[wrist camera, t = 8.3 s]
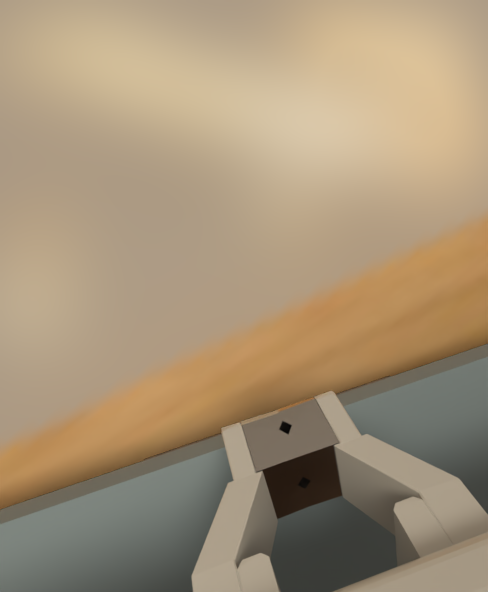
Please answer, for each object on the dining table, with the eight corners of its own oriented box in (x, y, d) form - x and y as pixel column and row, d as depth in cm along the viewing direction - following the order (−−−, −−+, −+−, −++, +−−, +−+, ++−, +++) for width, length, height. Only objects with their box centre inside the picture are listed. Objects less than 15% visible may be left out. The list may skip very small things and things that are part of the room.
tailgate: (670, 545, 15) (595, 298, 15) (749, 586, 13) (662, 296, 13) (-27, 827, 13) (-119, 539, 13) (-73, 934, 11) (-185, 587, 11)
